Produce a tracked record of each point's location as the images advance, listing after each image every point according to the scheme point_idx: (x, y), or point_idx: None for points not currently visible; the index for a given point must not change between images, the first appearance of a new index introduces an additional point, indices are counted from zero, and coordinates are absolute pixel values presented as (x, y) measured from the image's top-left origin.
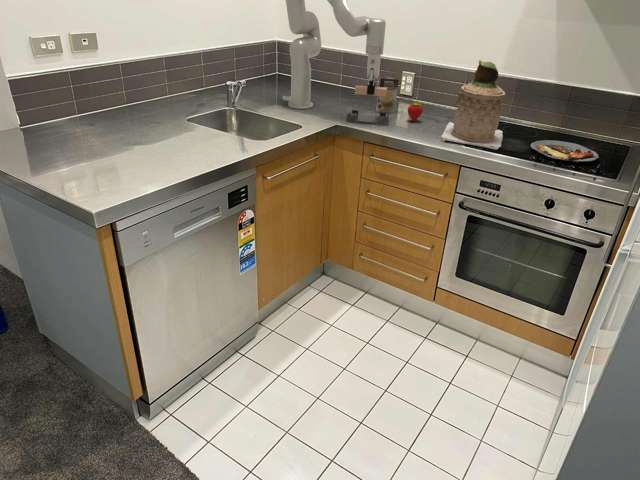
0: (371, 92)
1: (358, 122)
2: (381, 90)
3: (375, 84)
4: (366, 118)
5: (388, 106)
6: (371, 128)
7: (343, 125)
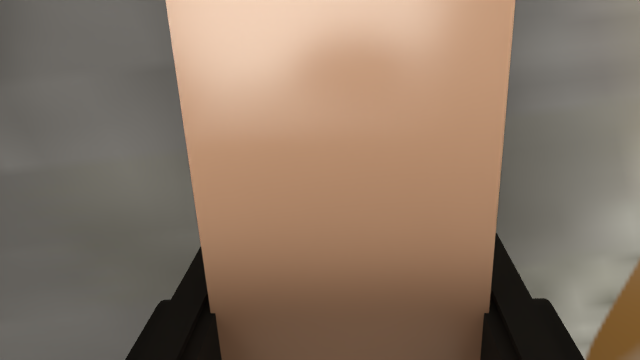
0: (545, 313)
1: None
2: (493, 76)
3: (168, 349)
4: None
5: None
6: (632, 62)
7: (576, 329)
